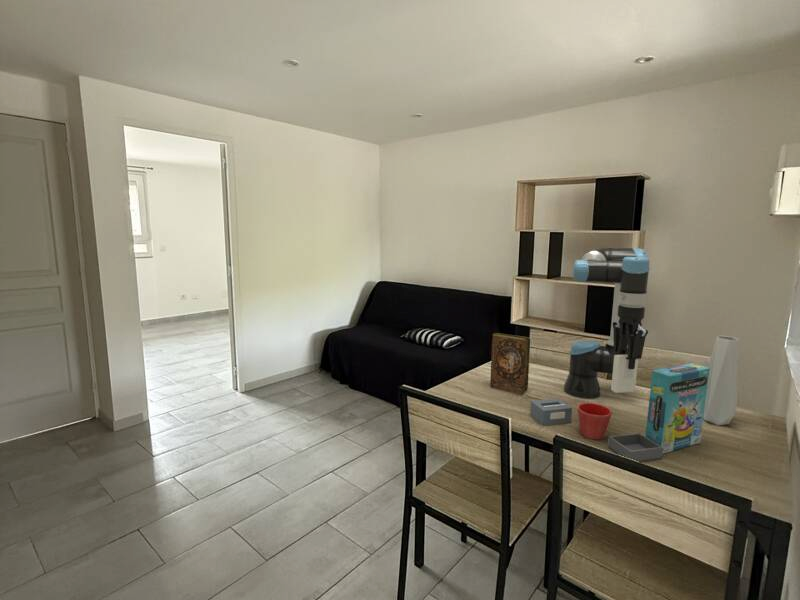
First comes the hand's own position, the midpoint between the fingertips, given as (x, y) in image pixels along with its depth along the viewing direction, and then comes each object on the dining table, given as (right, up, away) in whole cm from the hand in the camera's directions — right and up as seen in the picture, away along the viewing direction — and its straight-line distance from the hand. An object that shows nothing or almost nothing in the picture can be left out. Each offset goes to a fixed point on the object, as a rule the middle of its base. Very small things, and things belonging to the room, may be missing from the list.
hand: (624, 376), depth 138 cm
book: (-24, -16, +55) cm, 62 cm away
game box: (+20, -25, +6) cm, 32 cm away
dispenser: (-15, -21, +25) cm, 36 cm away
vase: (+47, -22, +24) cm, 57 cm away
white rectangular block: (0, -5, +1) cm, 5 cm away
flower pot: (-5, -23, +13) cm, 27 cm away
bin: (+3, -25, +1) cm, 26 cm away
